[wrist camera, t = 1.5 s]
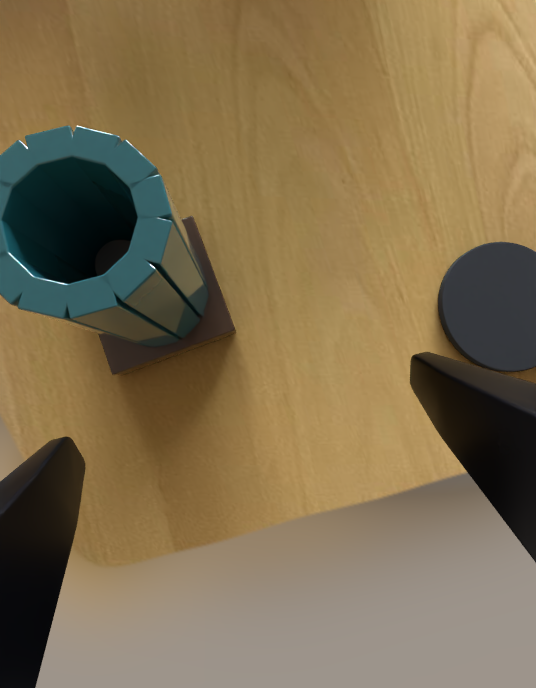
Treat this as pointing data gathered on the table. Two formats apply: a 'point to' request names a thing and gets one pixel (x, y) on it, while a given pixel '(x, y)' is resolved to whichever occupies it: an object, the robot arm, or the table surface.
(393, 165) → the table surface
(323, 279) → the table surface
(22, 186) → the slatted teal pen holder
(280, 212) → the table surface
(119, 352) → the stand
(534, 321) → the pad
